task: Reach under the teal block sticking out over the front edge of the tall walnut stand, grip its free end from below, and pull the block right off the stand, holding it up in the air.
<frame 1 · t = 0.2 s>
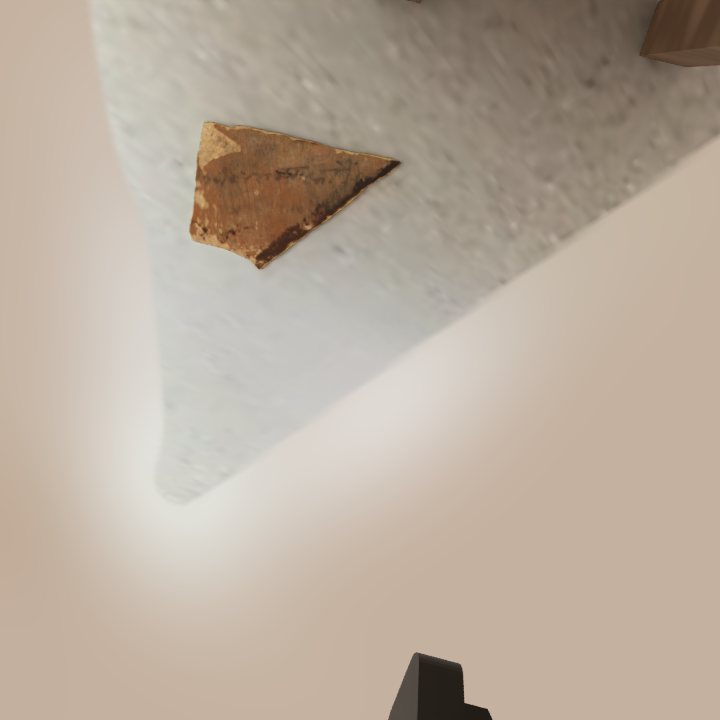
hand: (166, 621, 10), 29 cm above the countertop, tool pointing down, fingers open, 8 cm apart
brown flat wedge: (276, 167, 36), on the countertop
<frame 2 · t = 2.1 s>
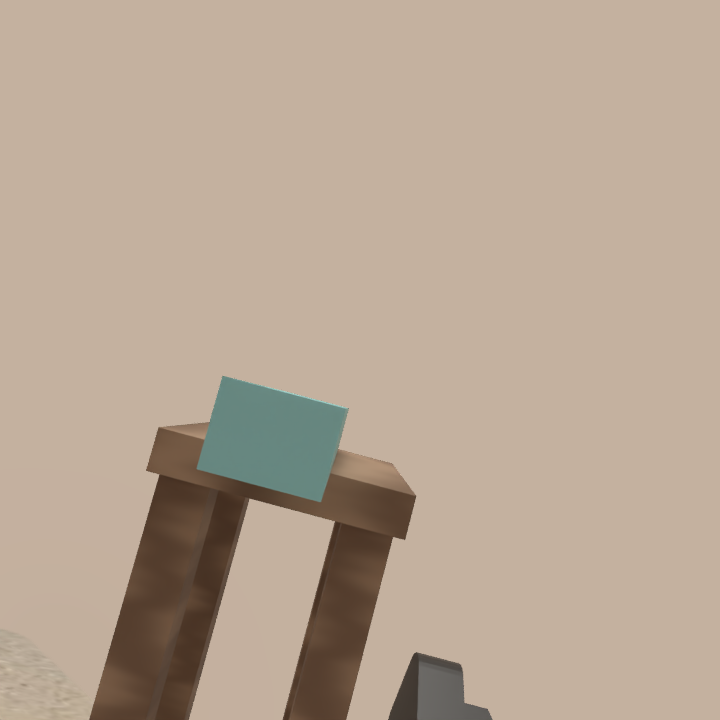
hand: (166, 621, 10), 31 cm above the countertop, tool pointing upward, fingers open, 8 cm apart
teal block: (293, 456, 32), point 32 cm above the countertop, touching walnut stand
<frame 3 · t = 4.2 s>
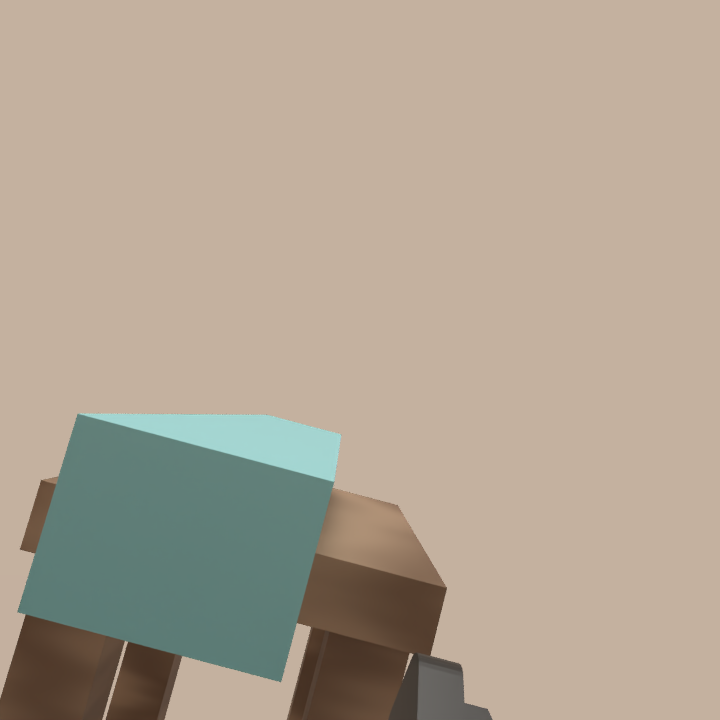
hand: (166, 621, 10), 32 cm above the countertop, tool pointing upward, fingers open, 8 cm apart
teal block: (258, 517, 21), point 32 cm above the countertop, touching walnut stand
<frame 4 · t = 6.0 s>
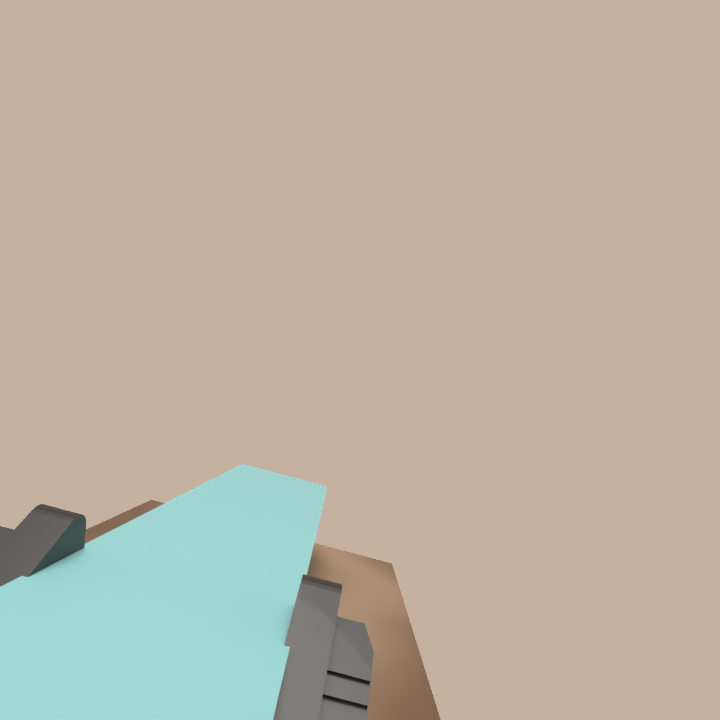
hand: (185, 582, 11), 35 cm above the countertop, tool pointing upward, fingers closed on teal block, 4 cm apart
teal block: (213, 629, 17), point 32 cm above the countertop, touching gripper, walnut stand
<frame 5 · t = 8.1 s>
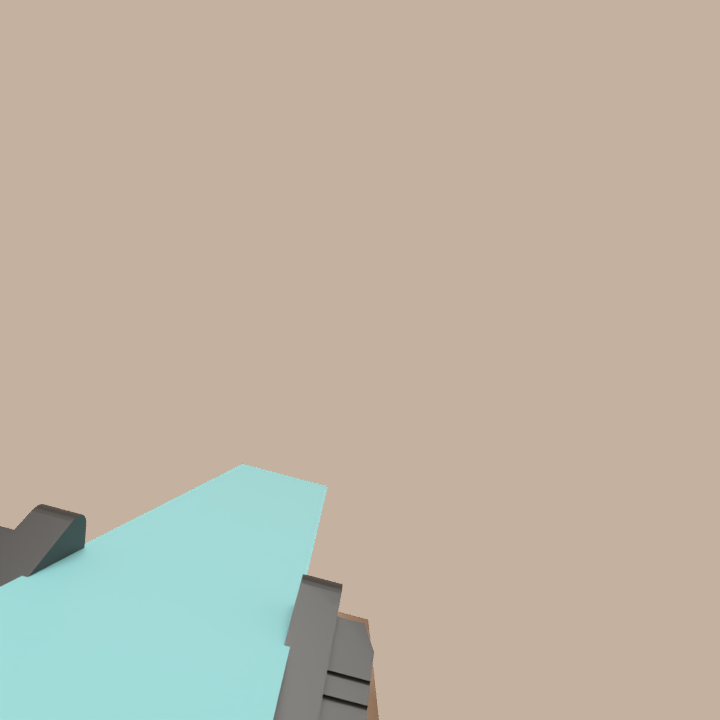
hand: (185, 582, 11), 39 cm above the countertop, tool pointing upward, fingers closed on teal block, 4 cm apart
teal block: (213, 629, 17), point 36 cm above the countertop, touching gripper
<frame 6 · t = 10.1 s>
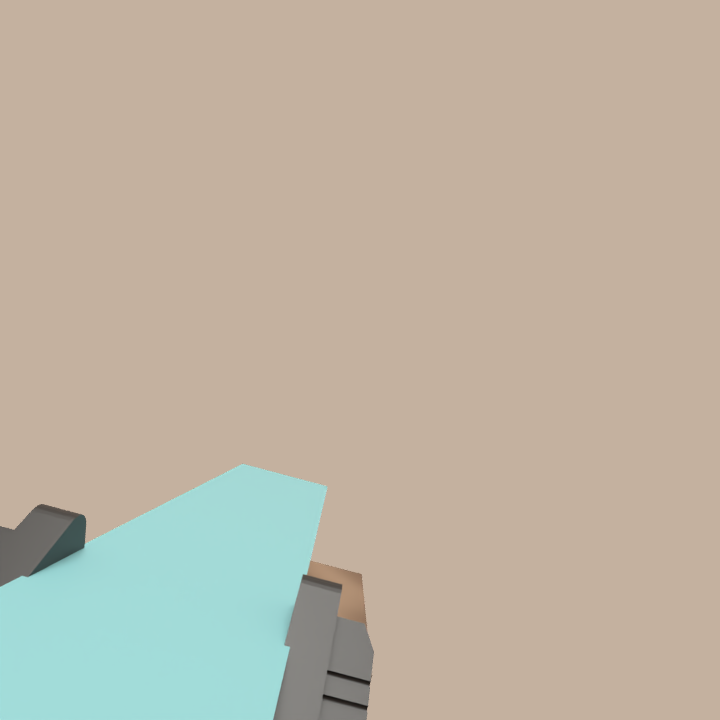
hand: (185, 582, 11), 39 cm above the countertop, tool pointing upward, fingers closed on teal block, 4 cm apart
teal block: (213, 629, 17), point 36 cm above the countertop, touching gripper
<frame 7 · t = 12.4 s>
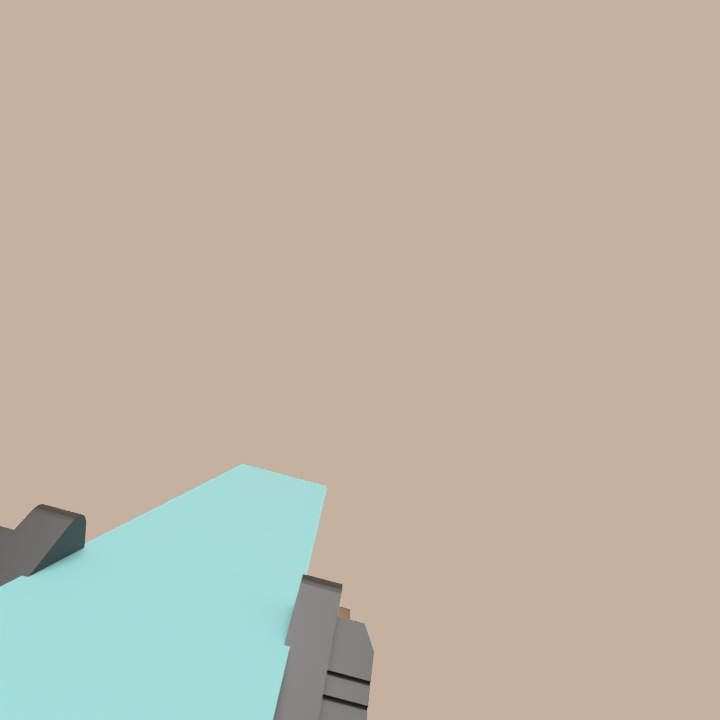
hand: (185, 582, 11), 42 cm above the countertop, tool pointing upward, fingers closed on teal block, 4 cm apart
teal block: (213, 629, 17), point 39 cm above the countertop, touching gripper
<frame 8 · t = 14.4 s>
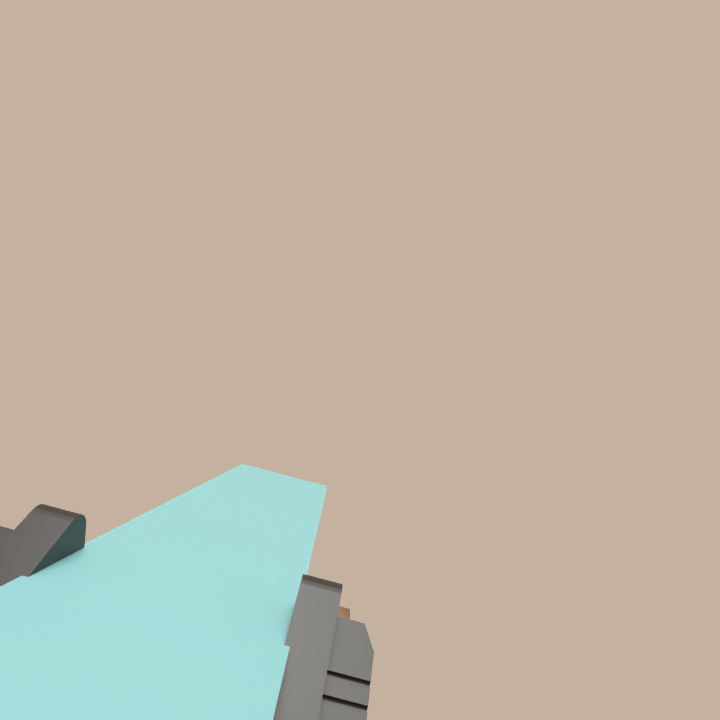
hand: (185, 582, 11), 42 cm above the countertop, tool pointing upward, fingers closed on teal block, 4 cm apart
teal block: (213, 629, 17), point 39 cm above the countertop, touching gripper
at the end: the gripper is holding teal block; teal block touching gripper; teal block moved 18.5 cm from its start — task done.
